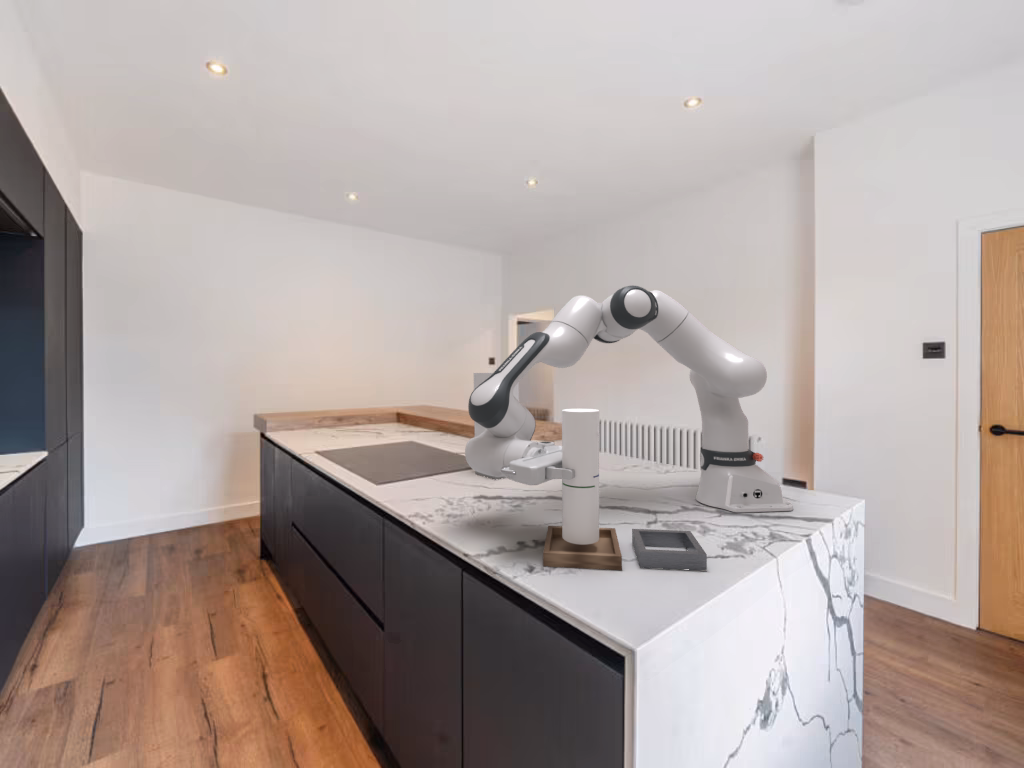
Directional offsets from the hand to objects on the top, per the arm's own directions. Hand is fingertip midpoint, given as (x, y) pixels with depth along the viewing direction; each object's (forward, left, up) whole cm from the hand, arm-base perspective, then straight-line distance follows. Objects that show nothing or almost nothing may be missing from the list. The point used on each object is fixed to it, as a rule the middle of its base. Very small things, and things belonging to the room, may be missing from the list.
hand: (584, 470), depth 86 cm
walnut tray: (+1, 0, -16) cm, 16 cm away
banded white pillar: (+29, -62, -16) cm, 71 cm away
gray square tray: (-15, 0, -16) cm, 22 cm away
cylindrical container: (+1, 0, -14) cm, 14 cm away
